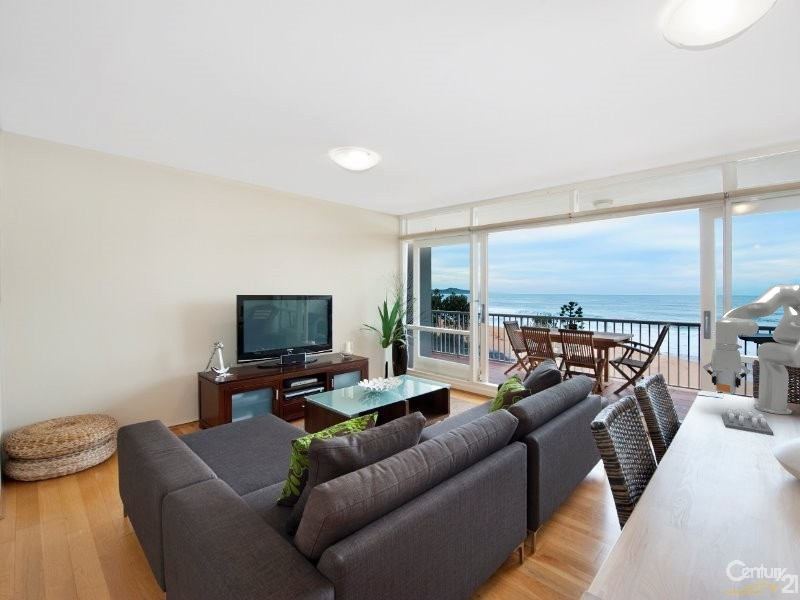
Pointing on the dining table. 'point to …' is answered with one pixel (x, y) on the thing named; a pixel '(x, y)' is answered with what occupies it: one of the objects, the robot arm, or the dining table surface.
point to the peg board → (746, 422)
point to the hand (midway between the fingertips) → (725, 385)
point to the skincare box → (726, 381)
